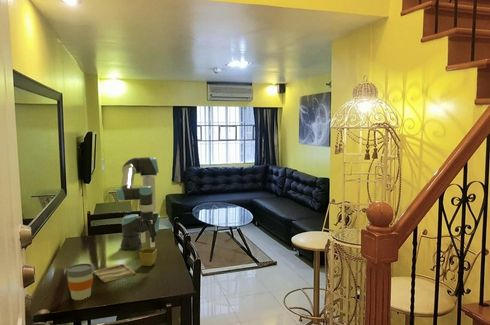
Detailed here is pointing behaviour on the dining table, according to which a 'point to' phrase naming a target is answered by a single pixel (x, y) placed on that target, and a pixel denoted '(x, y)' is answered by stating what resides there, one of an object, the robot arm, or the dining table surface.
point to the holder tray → (114, 272)
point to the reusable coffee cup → (80, 280)
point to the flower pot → (148, 256)
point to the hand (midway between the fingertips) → (147, 244)
